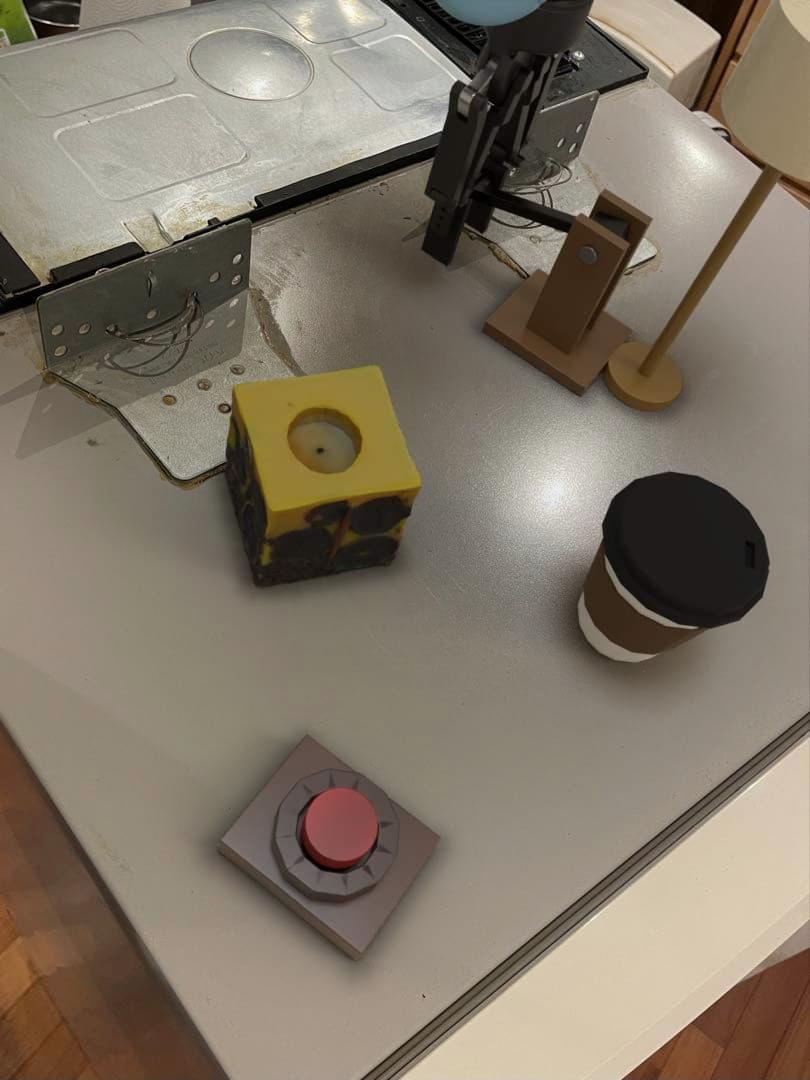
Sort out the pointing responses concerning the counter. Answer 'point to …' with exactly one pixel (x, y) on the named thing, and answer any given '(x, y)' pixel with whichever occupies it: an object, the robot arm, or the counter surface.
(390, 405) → the candle
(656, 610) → the coffee cup
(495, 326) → the lever bracket
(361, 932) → the switch block
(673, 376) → the lamp
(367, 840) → the button
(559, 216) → the black t-shaped bar
